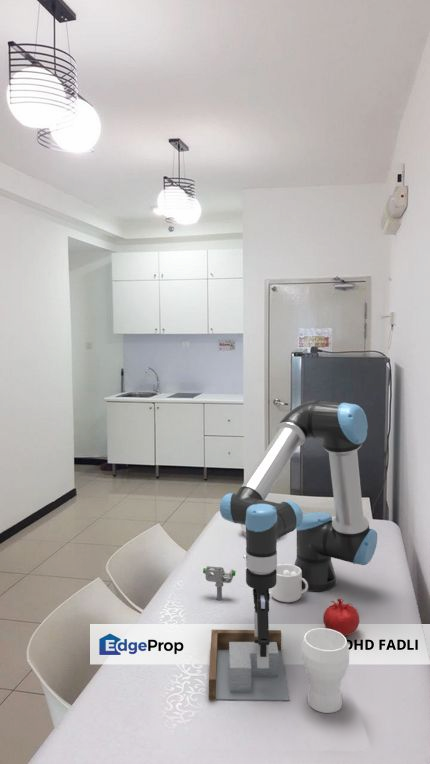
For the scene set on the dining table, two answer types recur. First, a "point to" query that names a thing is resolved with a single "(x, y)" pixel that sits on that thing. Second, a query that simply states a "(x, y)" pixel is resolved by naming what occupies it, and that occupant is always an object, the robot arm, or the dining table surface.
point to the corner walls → (221, 642)
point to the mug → (288, 583)
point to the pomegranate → (341, 618)
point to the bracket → (249, 664)
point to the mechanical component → (218, 577)
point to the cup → (325, 667)
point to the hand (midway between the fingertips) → (261, 651)
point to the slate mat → (259, 685)
